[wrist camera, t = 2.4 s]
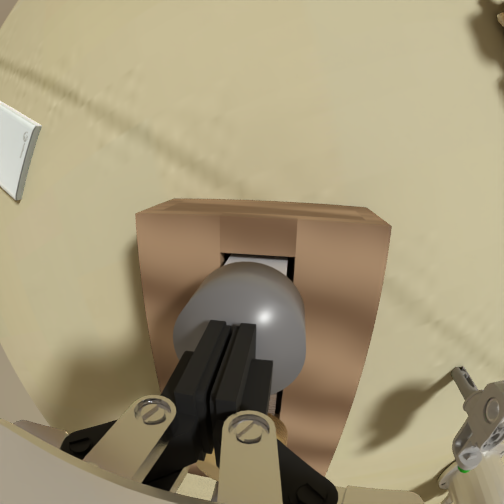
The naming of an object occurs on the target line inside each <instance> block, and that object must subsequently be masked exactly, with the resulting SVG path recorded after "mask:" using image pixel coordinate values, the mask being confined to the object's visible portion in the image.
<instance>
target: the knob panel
mask: <svg viewBox="0 0 504 504" xmlns="http://www.w3.org/2000/svg"><path fill="white" fill-rule="evenodd" d="M135 216H136V230H137V243H138V254H139V264H140V273H141V281H142V289H143V297H144V304H145V311H146V318H147V324H148V330H149V336H150V342H151V347H152V353H153V358H154V363H155V368H156V373H157V378H158V382H159V387H160V391H161V393H162V391H163V390H164V388H165V386H166V384H167V382H168V380H169V379H170V377H171V375H172V373H173V371H174V370H175V368H176V366H177V364H178V362H179V359H178V357H177V355H176V352H175V349H174V344H173V330H174V326H175V322H176V320H177V318H178V316H179V314H180V313H181V311H182V310H183V309H184V307H185V306H186V304H187V303H188V302H189V300H190V299H191V297H192V296H193V295H194V293H195V292H196V291H197V289H198V288H199V286H200V285H201V284H202V282H203V281H204V280H205V278H206V277H207V276H208V275H209V274H211V273H212V272H213V271H214V270H216V269H218V268H220V267H222V266H224V264H225V263H226V261H227V260H228V258H229V257H230V255H231V254H232V253H237V254H253V255H269V256H286V257H288V264H287V277H288V278H289V279H290V280H291V281H292V282H293V283H294V285H295V286H296V287H297V289H298V291H299V292H300V294H301V297H302V299H303V303H304V308H305V329H306V358H305V362H304V365H303V368H302V370H301V372H300V373H299V375H298V376H297V378H296V379H295V380H294V381H293V382H292V383H291V384H290V385H289V386H287V387H286V388H284V389H283V390H281V391H279V392H277V398H276V407H275V415H274V416H275V417H277V418H278V419H280V420H281V421H282V422H283V423H284V425H285V426H286V428H287V432H288V438H287V447H288V448H289V449H290V450H291V451H292V452H294V453H295V454H296V455H297V456H298V457H300V458H301V459H302V460H303V461H305V462H306V463H307V464H308V465H310V466H311V467H312V468H313V469H315V470H316V471H317V472H318V473H320V474H321V475H322V476H324V477H325V474H326V472H327V470H328V467H329V465H330V463H331V460H332V458H333V455H334V453H335V450H336V448H337V445H338V443H339V440H340V437H341V435H342V432H343V429H344V426H345V424H346V421H347V418H348V415H349V412H350V409H351V406H352V403H353V400H354V397H355V394H356V391H357V387H358V384H359V381H360V377H361V374H362V370H363V367H364V363H365V360H366V356H367V352H368V348H369V345H370V341H371V337H372V332H373V328H374V324H375V319H376V315H377V310H378V306H379V301H380V296H381V291H382V285H383V280H384V274H385V269H386V262H387V256H388V250H389V243H390V235H391V227H392V226H391V225H389V224H388V223H387V222H385V221H384V220H383V219H381V218H380V217H379V216H377V215H376V214H375V213H373V212H372V211H370V210H369V209H368V208H366V207H354V206H341V205H328V204H313V203H296V202H278V201H255V200H226V199H172V200H169V201H167V202H164V203H161V204H159V205H156V206H153V207H151V208H148V209H146V210H143V211H141V212H138V213H136V214H135ZM188 473H190V474H195V475H200V476H205V477H209V476H207V475H206V474H204V473H203V472H202V471H201V470H200V469H199V468H198V467H197V465H196V463H194V464H191V465H189V470H188Z"/></svg>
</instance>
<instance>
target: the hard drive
mask: <svg viewBox="0 0 504 504" xmlns="http://www.w3.org/2000/svg"><path fill="white" fill-rule="evenodd" d="M41 127H42V125H40V124H38V123H37V122H35V121H33V120H32V119H30V118H28V117H27V116H25V115H23V114H22V113H20V112H18V111H17V110H15V109H13V108H12V107H10V106H8V105H6V104H5V103H3V102H1V101H0V186H1V187H2V188H3V189H4V190H5V191H6V192H7V193H8V194H9V195H10V196H11V197H12V198H14V199H15V200H20V199H22V194H23V190H24V185H25V181H26V177H27V173H28V169H29V166H30V162H31V158H32V155H33V151H34V148H35V145H36V142H37V139H38V135H39V132H40V130H41Z"/></svg>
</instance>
